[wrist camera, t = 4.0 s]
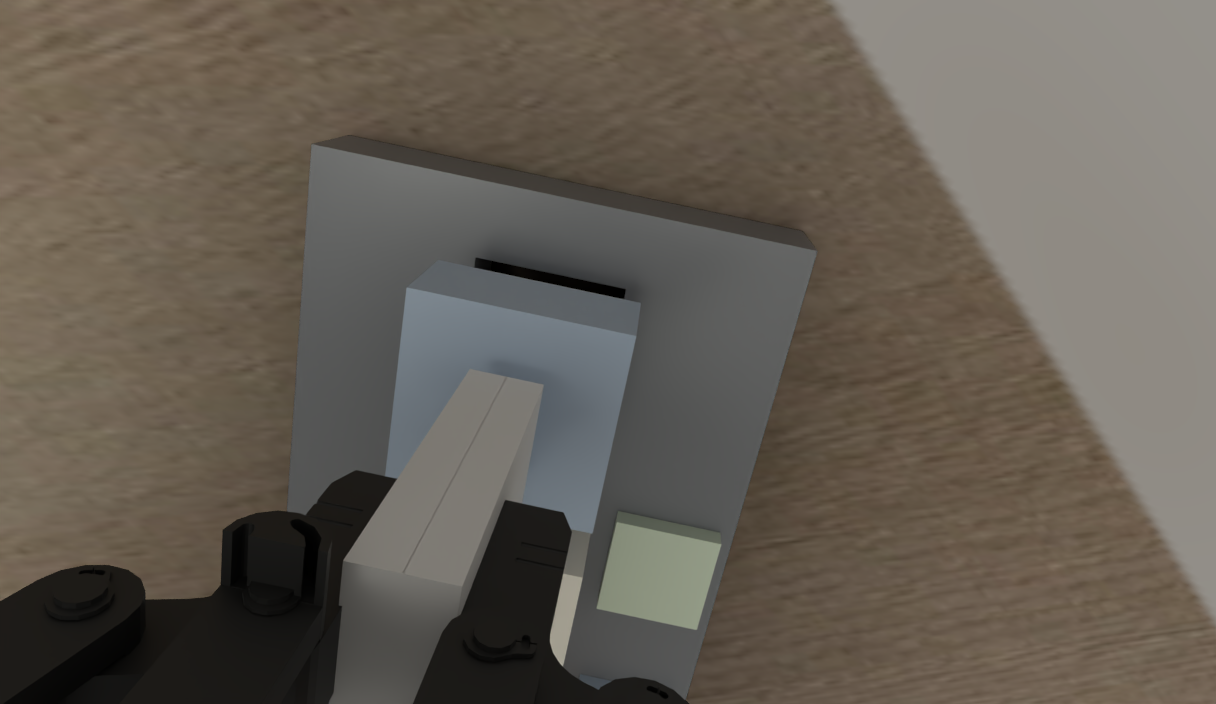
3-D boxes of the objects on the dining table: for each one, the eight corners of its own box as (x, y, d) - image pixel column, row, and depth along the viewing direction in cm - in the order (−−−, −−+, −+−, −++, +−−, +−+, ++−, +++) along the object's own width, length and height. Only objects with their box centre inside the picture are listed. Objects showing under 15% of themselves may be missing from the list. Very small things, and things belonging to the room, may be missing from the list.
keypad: (618, 877, 32) (613, 959, 29) (293, 807, 32) (255, 882, 29) (802, 231, 23) (821, 256, 20) (348, 135, 23) (301, 146, 20)
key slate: (608, 438, 23) (592, 533, 18) (441, 402, 23) (383, 489, 18) (644, 275, 21) (636, 335, 17) (463, 237, 21) (406, 287, 17)
